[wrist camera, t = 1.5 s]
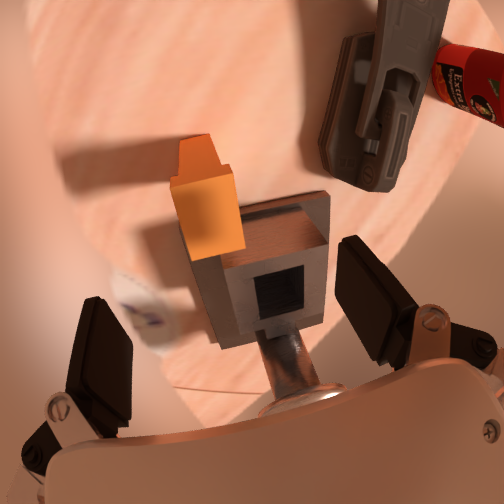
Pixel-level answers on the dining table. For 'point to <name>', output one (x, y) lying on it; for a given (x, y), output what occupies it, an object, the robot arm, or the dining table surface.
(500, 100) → the canned food
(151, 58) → the dining table surface
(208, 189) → the orange tapered block
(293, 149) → the dining table surface
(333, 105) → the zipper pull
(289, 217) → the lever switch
